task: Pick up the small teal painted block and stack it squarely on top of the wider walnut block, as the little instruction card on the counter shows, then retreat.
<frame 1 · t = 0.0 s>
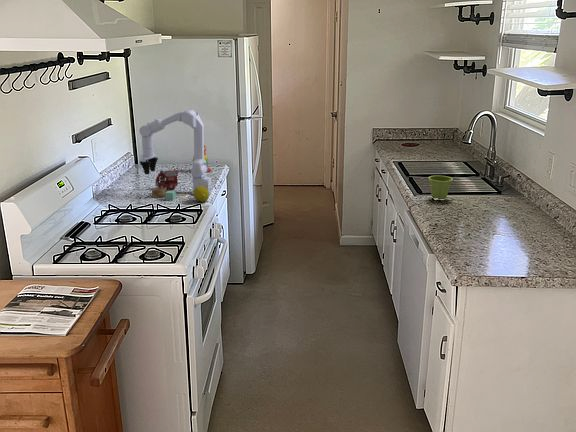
hand: (149, 172, 306), 10 cm above the worktop, fingers open, 7 cm apart
toy fire truck: (167, 189, 314), on the worktop
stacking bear: (201, 172, 354), on the worktop
plant pot: (438, 200, 290), on the worktop
lemon: (201, 201, 289), on the worktop
walnut block: (159, 196, 298), on the worktop
instruction card: (181, 196, 298), on the worktop
teal block: (170, 199, 292), on the worktop
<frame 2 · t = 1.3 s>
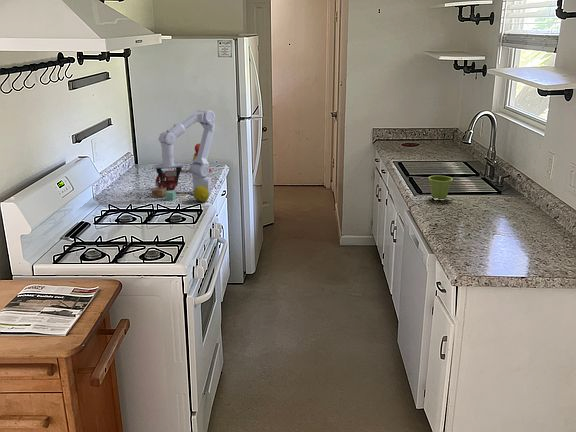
hand: (169, 182, 290), 9 cm above the worktop, fingers open, 7 cm apart
nothing on the worktop moved.
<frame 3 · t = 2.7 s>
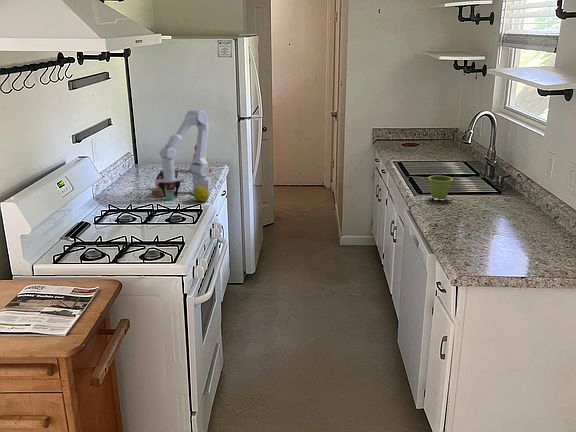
hand: (170, 196, 292), 1 cm above the worktop, fingers closed on teal block, 5 cm apart
teal block: (170, 199, 292), on the worktop, touching gripper
everything else where it was.
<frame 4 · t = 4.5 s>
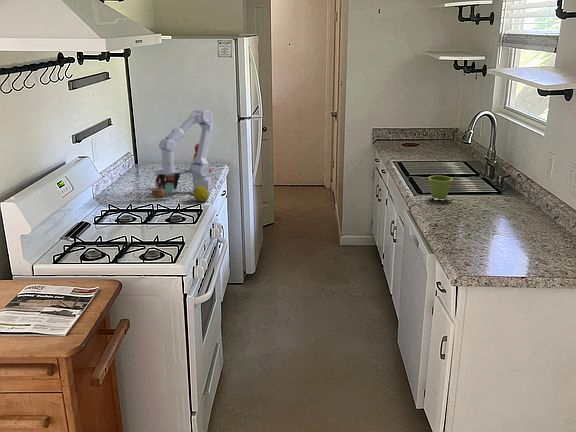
hand: (170, 188, 291), 6 cm above the worktop, fingers closed on teal block, 5 cm apart
teal block: (170, 191, 291), point 4 cm above the worktop, touching gripper
everything else where it was.
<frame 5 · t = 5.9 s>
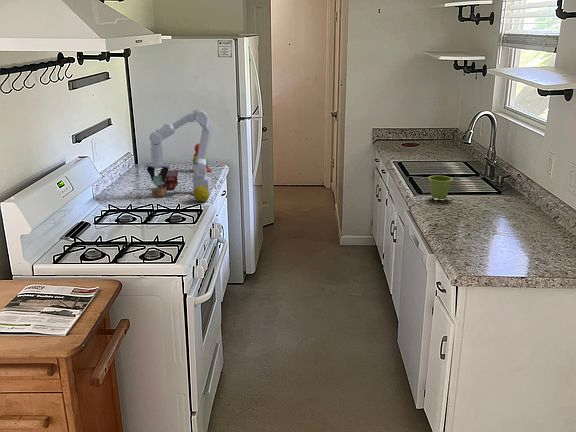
hand: (158, 181, 296), 8 cm above the worktop, fingers closed on teal block, 5 cm apart
teal block: (158, 184, 296), point 7 cm above the worktop, touching gripper
everything else where it was.
when the fingers open (6 cm above the worktop, at t = 6.7 s): teal block drops 1 cm, point 4 cm above the worktop.
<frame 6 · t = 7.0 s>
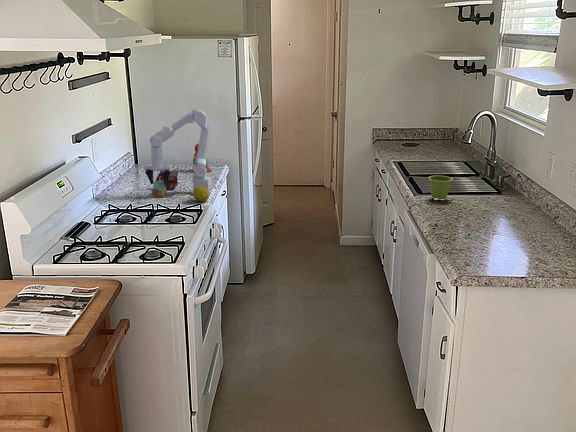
hand: (158, 184, 296), 6 cm above the worktop, fingers open, 7 cm apart
teal block: (159, 189, 297), point 4 cm above the worktop
everything else where it was.
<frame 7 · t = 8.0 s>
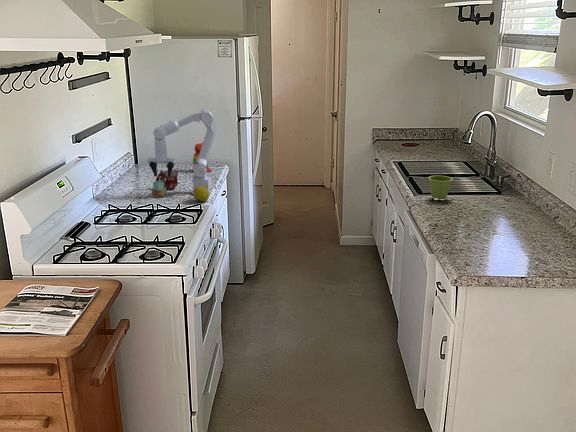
hand: (162, 176, 297), 10 cm above the worktop, fingers open, 7 cm apart
walnut block: (159, 196, 298), on the worktop, touching teal block
teal block: (158, 189, 297), point 4 cm above the worktop, touching walnut block
everything else where it was.
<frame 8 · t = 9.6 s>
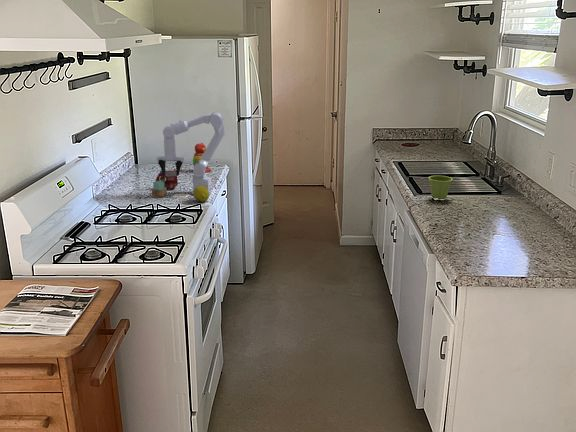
hand: (171, 174, 300), 10 cm above the worktop, fingers open, 7 cm apart
nothing on the worktop moved.
at the end: teal block 0.2 cm off-centre on the walnut block, point 4.0 cm above the walnut block's base; teal block tilted 1°; walnut block moved 0.3 cm from its start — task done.
